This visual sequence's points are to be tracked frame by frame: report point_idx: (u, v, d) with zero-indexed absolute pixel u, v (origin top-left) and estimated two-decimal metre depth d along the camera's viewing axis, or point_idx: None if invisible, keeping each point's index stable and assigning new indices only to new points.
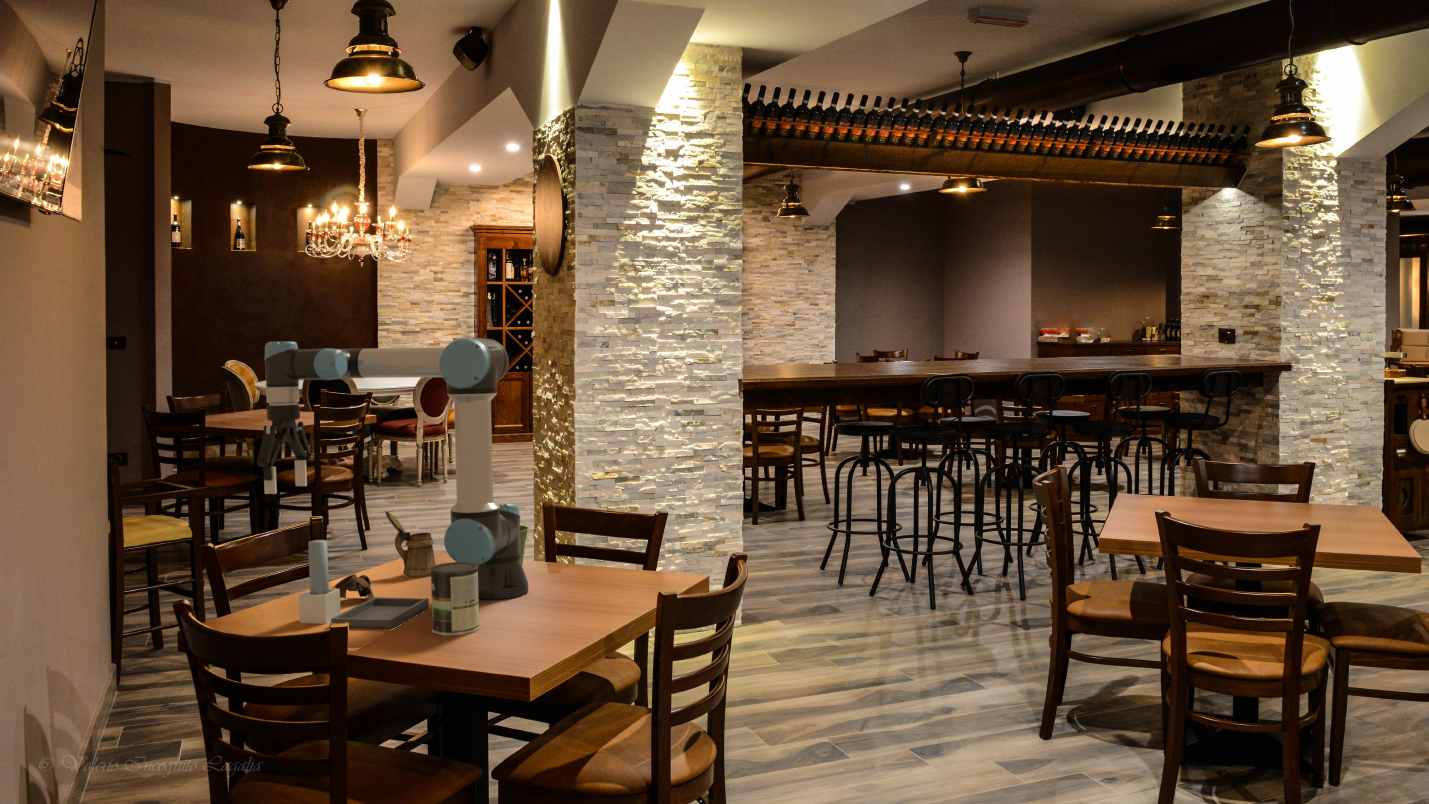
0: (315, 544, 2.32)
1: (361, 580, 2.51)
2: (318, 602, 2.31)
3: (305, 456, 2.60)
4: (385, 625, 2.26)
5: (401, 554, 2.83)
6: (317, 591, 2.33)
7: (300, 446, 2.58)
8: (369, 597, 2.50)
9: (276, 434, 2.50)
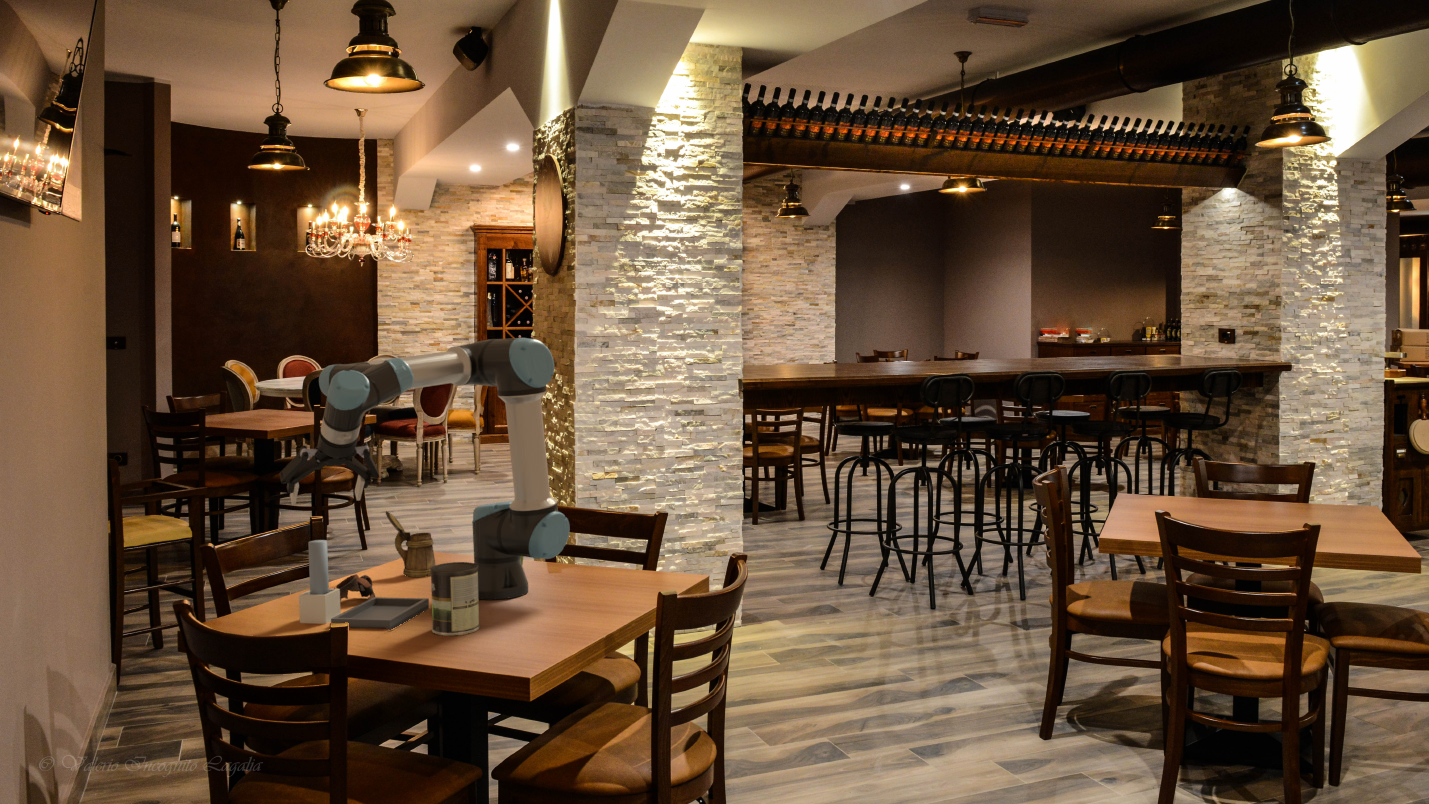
0: (315, 544, 2.32)
1: (363, 580, 2.51)
2: (318, 602, 2.31)
3: None
4: (385, 625, 2.26)
5: (401, 554, 2.83)
6: (317, 591, 2.33)
7: None
8: (371, 597, 2.50)
9: None
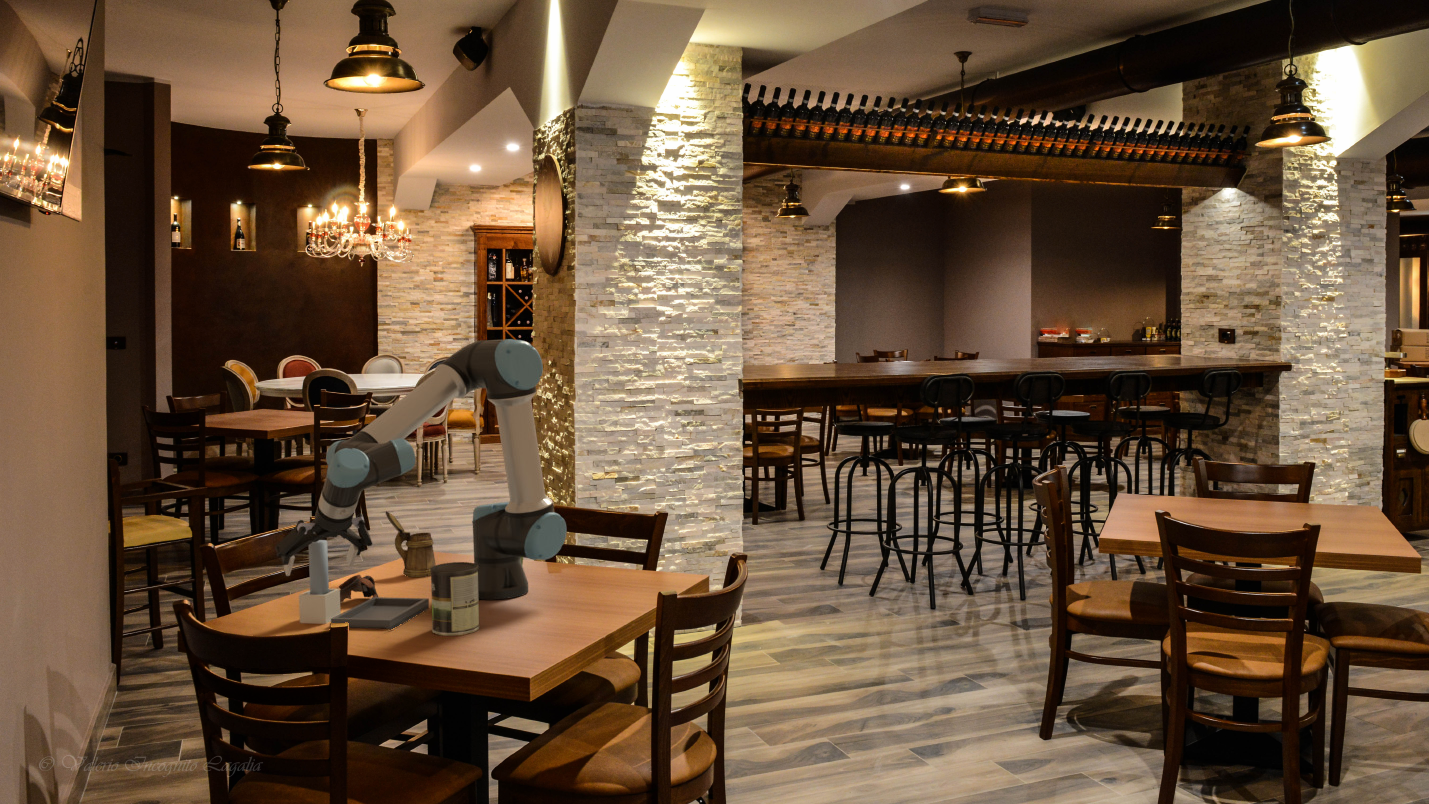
0: (315, 544, 2.32)
1: (366, 580, 2.50)
2: (318, 602, 2.31)
3: None
4: (385, 625, 2.26)
5: (401, 554, 2.83)
6: (317, 591, 2.33)
7: None
8: None
9: None
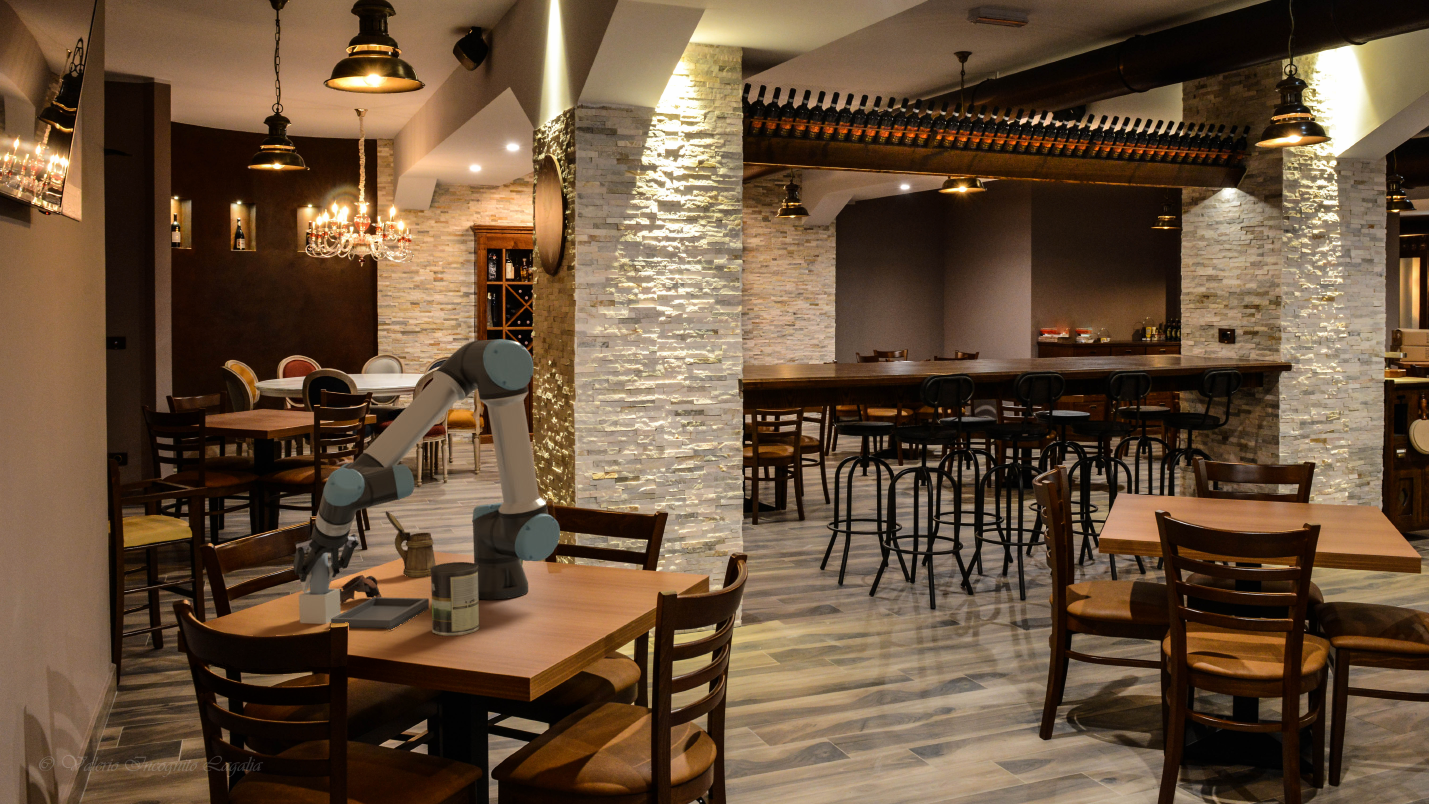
0: None
1: (369, 581, 2.50)
2: (318, 602, 2.31)
3: None
4: (385, 625, 2.26)
5: (401, 554, 2.83)
6: (317, 591, 2.33)
7: None
8: None
9: None
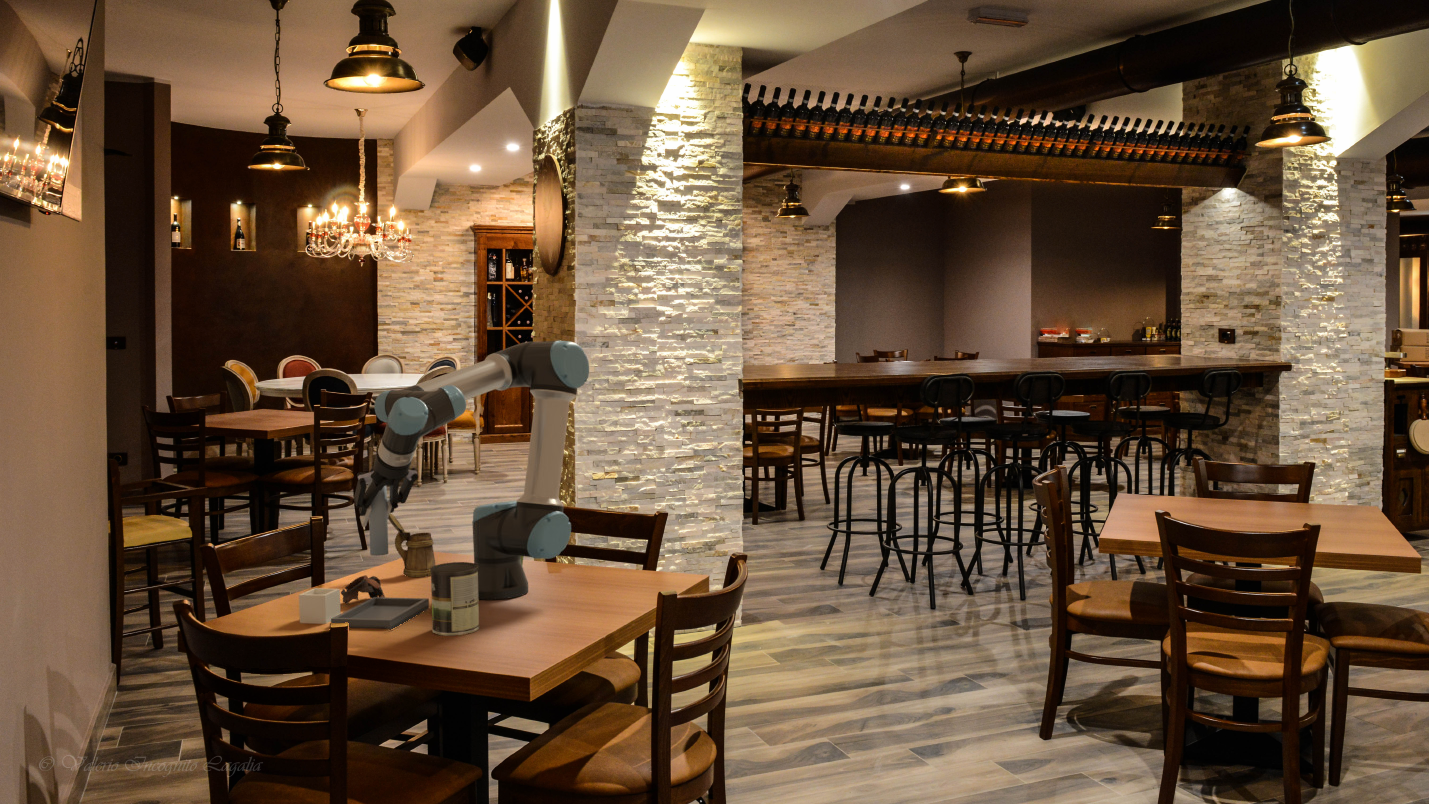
0: None
1: (373, 581, 2.50)
2: (318, 602, 2.31)
3: None
4: (385, 625, 2.26)
5: (401, 554, 2.83)
6: (377, 525, 2.34)
7: None
8: None
9: None
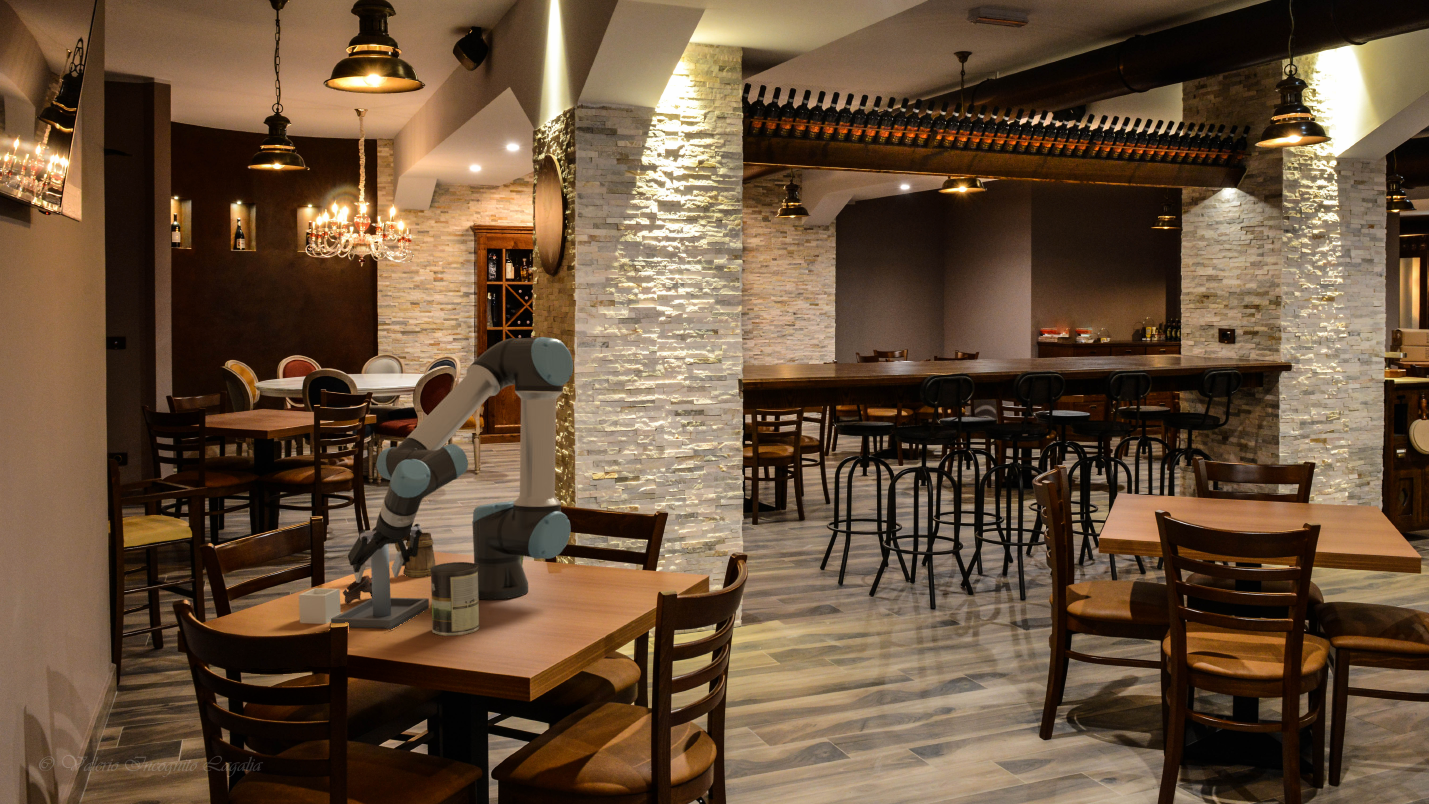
0: None
1: None
2: (318, 602, 2.31)
3: None
4: (385, 625, 2.26)
5: None
6: (380, 586, 2.35)
7: None
8: None
9: None
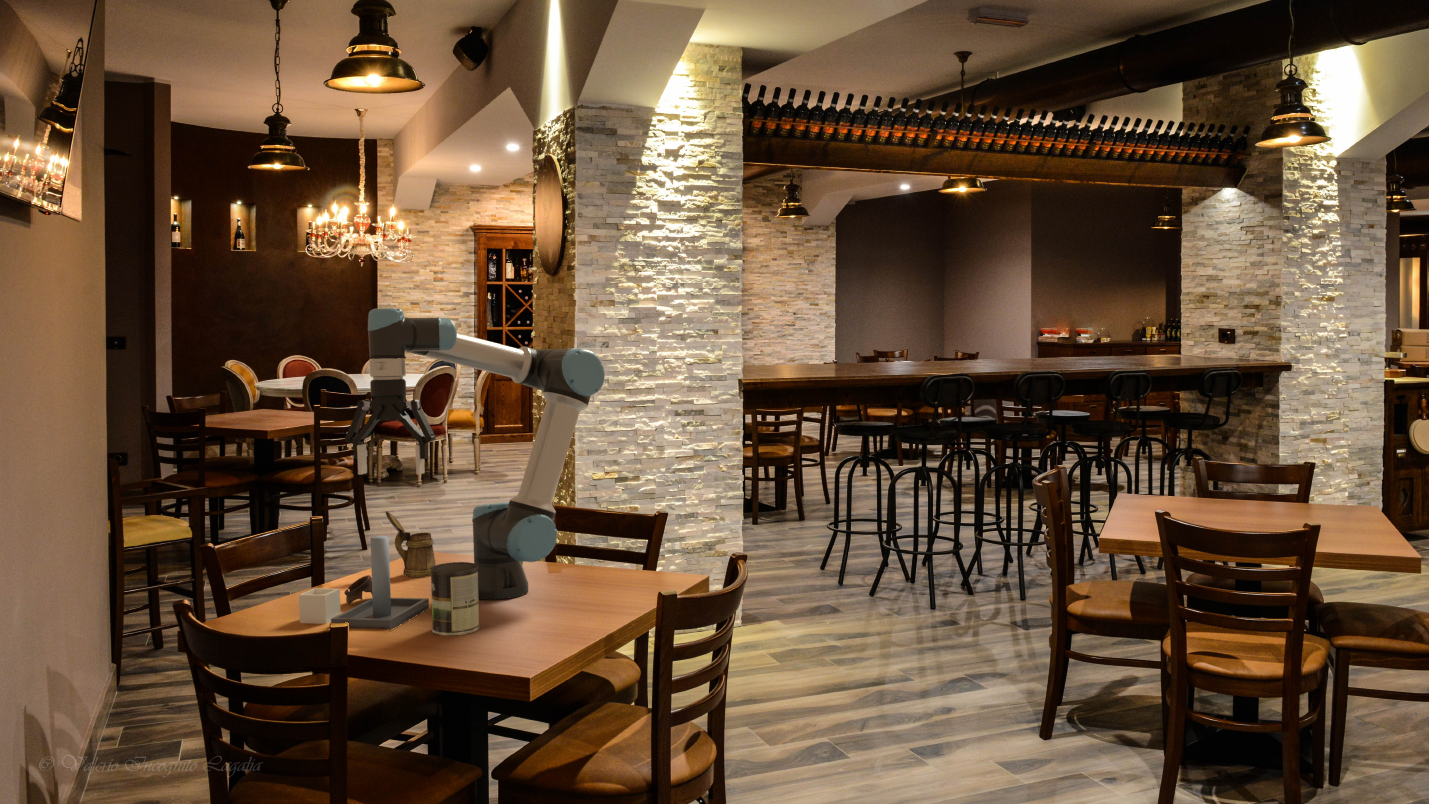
0: (377, 540, 2.34)
1: None
2: (318, 602, 2.31)
3: None
4: (385, 625, 2.26)
5: (401, 554, 2.83)
6: (380, 587, 2.34)
7: None
8: None
9: None
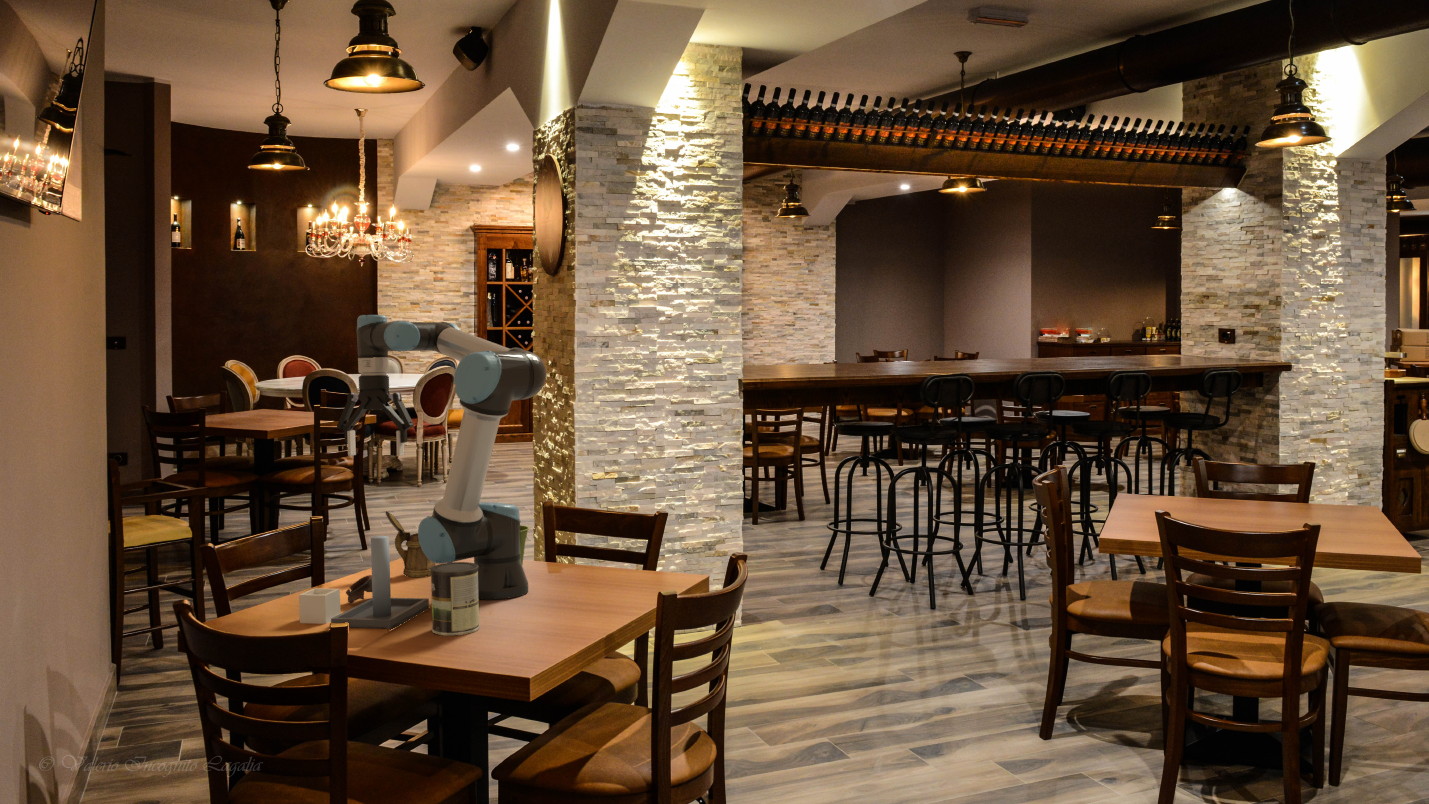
0: (378, 540, 2.34)
1: None
2: (318, 602, 2.31)
3: None
4: (385, 625, 2.26)
5: (401, 554, 2.83)
6: (380, 587, 2.35)
7: None
8: None
9: None
